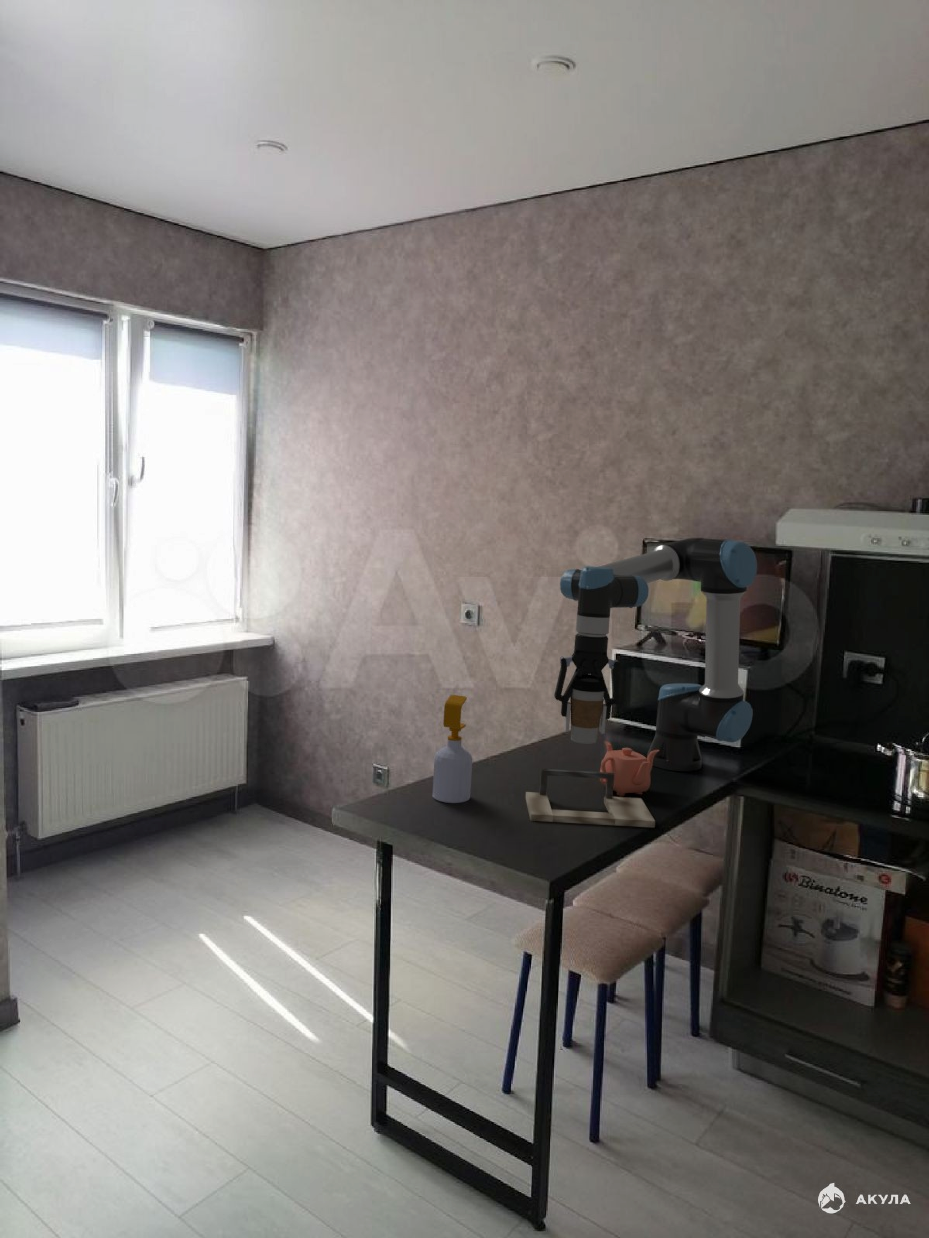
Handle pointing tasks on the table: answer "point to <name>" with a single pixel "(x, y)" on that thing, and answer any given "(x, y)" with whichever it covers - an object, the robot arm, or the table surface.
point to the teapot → (627, 770)
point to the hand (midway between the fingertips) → (584, 731)
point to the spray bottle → (452, 759)
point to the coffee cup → (586, 708)
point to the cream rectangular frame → (618, 808)
